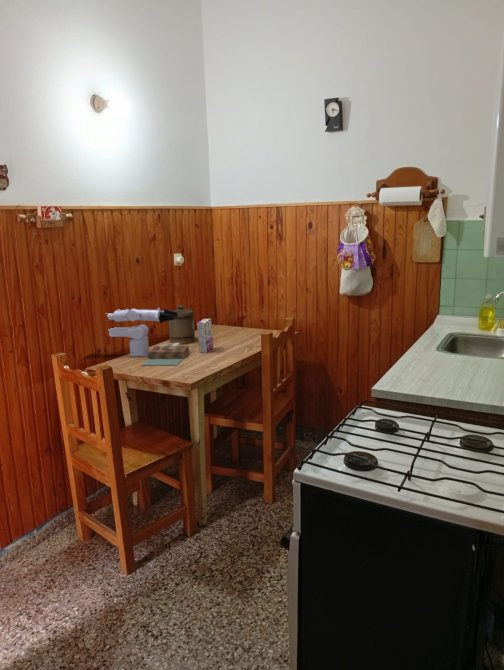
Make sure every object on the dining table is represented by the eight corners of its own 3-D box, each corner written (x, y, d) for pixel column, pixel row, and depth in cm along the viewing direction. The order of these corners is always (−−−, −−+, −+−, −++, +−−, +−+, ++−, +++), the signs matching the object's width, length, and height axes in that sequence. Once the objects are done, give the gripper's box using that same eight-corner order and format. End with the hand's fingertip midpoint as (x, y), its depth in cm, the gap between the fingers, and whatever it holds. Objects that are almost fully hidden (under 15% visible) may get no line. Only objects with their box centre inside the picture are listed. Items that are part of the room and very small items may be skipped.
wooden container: (200, 340, 284) (197, 303, 280) (181, 345, 274) (178, 307, 269) (184, 337, 294) (181, 302, 290) (164, 342, 284) (161, 305, 279)
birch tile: (159, 349, 250) (159, 345, 249) (163, 346, 255) (163, 343, 255) (176, 349, 248) (176, 345, 248) (179, 346, 254) (179, 342, 254)
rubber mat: (141, 365, 235) (141, 365, 235) (148, 359, 246) (148, 359, 246) (177, 365, 233) (177, 364, 233) (183, 359, 243) (182, 358, 243)
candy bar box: (204, 347, 266) (202, 318, 263) (213, 347, 265) (211, 318, 262) (198, 352, 255) (196, 322, 252) (207, 353, 254) (205, 322, 251)
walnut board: (149, 359, 246) (148, 352, 245) (156, 353, 258) (155, 346, 257) (183, 359, 244) (182, 351, 243) (189, 353, 255) (188, 345, 255)
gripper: (145, 310, 244) (172, 311, 243) (153, 305, 258) (178, 305, 257) (146, 324, 245) (172, 324, 244) (154, 317, 259) (179, 318, 258)
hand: (175, 315), depth 251 cm, fingers open, 7 cm apart
